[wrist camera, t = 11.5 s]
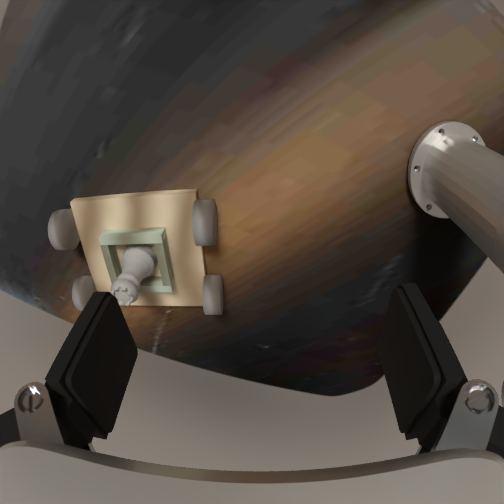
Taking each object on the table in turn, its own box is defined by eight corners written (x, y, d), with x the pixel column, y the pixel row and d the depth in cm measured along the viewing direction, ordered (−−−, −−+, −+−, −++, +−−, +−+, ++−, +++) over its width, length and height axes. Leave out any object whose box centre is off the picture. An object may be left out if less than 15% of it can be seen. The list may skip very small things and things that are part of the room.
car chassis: (214, 188, 35) (209, 206, 31) (224, 300, 44) (222, 326, 39) (62, 199, 35) (42, 217, 31) (93, 298, 44) (81, 321, 39)
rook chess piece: (150, 276, 40) (133, 319, 33) (120, 260, 39) (98, 301, 32) (164, 251, 38) (147, 293, 31) (131, 234, 37) (109, 273, 30)
